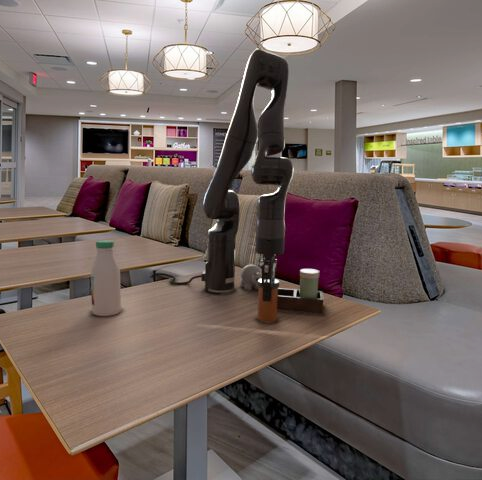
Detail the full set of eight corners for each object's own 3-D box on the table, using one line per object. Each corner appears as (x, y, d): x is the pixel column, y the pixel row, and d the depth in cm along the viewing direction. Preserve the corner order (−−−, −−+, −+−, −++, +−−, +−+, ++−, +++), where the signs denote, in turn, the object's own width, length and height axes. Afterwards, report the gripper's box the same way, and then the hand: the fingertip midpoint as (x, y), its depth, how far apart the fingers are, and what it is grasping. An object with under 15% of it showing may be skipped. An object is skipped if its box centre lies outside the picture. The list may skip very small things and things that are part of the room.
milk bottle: (126, 309, 118) (125, 240, 115) (109, 318, 111) (108, 244, 108) (103, 306, 121) (101, 237, 117) (85, 314, 114) (83, 242, 110)
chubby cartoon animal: (251, 297, 132) (251, 271, 131) (237, 287, 143) (238, 262, 142) (271, 295, 135) (272, 269, 133) (256, 285, 146) (257, 261, 144)
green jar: (297, 309, 120) (299, 272, 118) (298, 303, 125) (300, 268, 124) (317, 311, 119) (319, 273, 117) (317, 305, 124) (319, 269, 123)
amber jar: (255, 323, 111) (256, 282, 109) (258, 315, 116) (259, 277, 114) (276, 324, 110) (278, 284, 108) (278, 317, 115) (280, 278, 113)
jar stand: (265, 310, 120) (266, 295, 120) (268, 301, 129) (269, 287, 128) (322, 315, 118) (323, 299, 117) (321, 306, 126) (322, 291, 125)
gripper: (259, 230, 116) (257, 288, 119) (252, 238, 102) (250, 304, 105) (286, 231, 115) (283, 290, 118) (282, 240, 101) (280, 307, 104)
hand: (267, 297), depth 112 cm, fingers closed on amber jar, 5 cm apart
